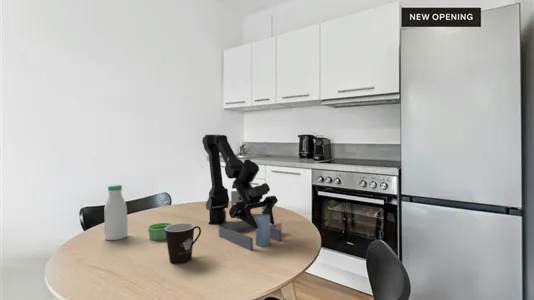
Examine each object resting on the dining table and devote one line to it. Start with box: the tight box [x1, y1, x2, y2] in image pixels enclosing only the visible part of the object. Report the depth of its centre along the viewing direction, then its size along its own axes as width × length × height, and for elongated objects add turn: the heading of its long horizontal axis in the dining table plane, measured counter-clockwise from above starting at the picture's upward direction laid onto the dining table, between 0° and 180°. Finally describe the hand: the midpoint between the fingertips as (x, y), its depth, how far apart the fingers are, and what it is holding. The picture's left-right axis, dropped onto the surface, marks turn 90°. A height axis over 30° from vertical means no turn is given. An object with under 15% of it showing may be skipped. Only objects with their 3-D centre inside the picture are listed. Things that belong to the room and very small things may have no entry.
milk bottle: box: [103, 184, 129, 241], centre depth 111 cm, size 8×8×20 cm
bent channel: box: [218, 217, 283, 251], centre depth 109 cm, size 20×20×4 cm
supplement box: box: [230, 188, 242, 207], centre depth 140 cm, size 7×7×13 cm
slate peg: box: [254, 213, 271, 248], centre depth 101 cm, size 5×5×10 cm
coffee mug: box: [165, 222, 202, 265], centre depth 89 cm, size 12×9×10 cm
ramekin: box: [147, 222, 174, 241], centre depth 110 cm, size 9×9×4 cm
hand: (265, 226), depth 100 cm, fingers open, 7 cm apart
